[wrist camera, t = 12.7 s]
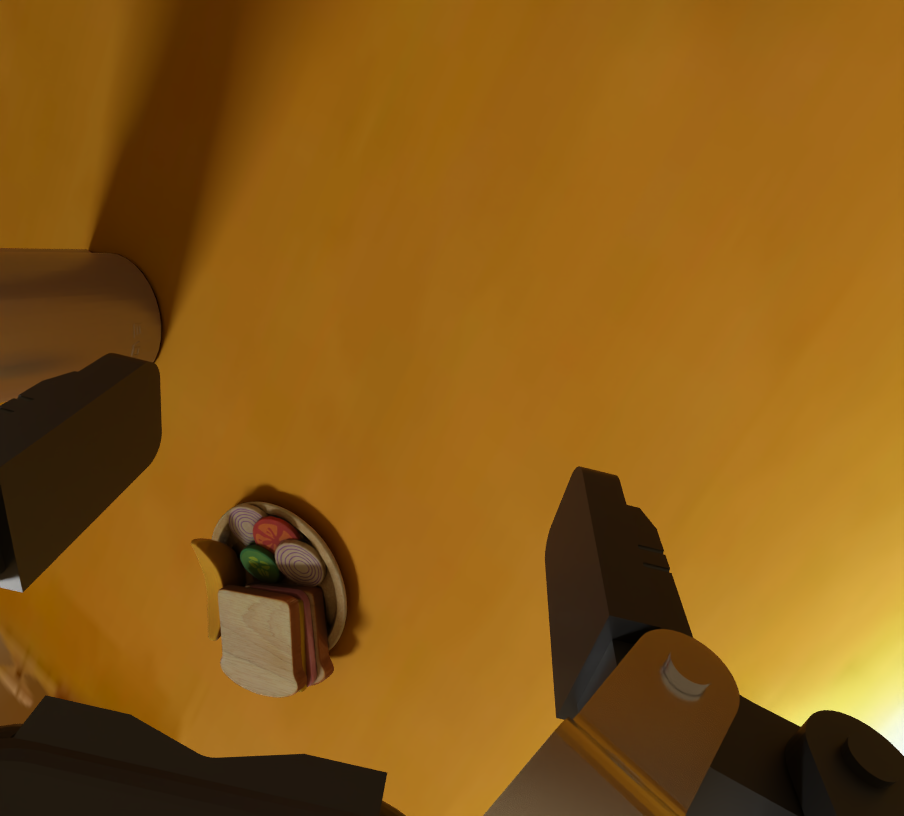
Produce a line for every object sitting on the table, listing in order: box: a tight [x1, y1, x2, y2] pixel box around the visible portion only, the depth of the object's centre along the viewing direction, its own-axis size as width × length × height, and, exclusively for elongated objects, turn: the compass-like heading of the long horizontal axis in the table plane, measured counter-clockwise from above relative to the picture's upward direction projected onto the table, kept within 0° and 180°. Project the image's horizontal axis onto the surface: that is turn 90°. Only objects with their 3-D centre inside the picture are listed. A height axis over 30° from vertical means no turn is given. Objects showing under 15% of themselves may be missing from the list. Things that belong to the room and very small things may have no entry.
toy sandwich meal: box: [191, 502, 347, 697], centre depth 41 cm, size 12×14×5 cm
